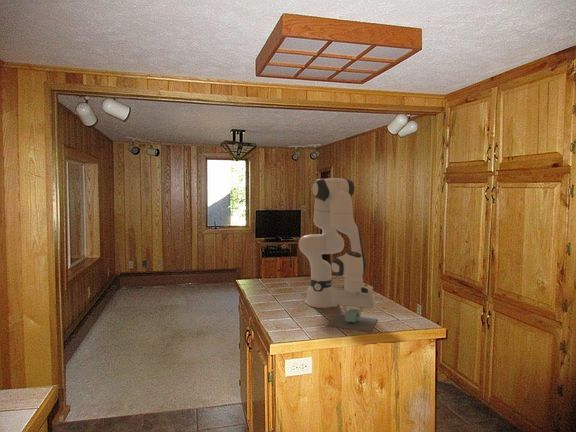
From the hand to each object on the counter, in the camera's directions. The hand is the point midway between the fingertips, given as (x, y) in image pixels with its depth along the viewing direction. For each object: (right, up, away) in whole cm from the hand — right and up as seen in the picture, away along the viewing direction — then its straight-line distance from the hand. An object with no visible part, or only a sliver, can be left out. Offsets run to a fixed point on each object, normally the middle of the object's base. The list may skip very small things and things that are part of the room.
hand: (352, 315), depth 181 cm
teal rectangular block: (0, -2, 0) cm, 2 cm away
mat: (0, -4, 0) cm, 4 cm away
